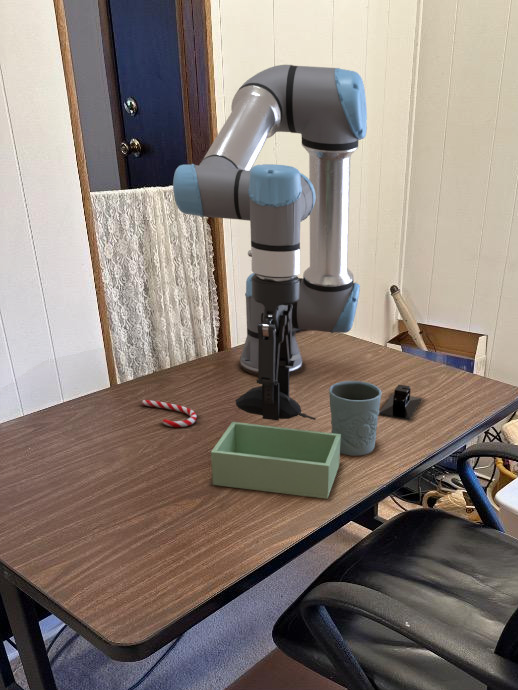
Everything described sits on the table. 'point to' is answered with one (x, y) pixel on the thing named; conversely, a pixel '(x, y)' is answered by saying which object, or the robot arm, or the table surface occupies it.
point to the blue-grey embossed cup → (355, 415)
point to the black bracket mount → (401, 403)
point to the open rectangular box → (276, 459)
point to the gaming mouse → (253, 404)
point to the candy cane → (175, 408)
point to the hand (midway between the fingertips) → (276, 410)
